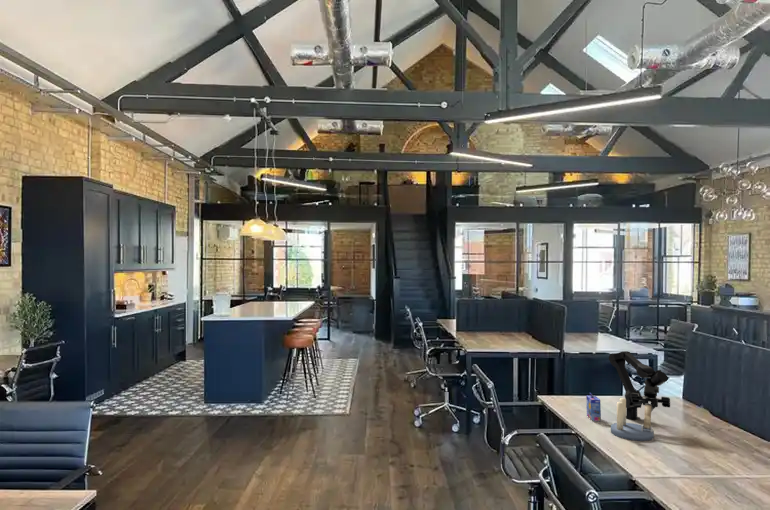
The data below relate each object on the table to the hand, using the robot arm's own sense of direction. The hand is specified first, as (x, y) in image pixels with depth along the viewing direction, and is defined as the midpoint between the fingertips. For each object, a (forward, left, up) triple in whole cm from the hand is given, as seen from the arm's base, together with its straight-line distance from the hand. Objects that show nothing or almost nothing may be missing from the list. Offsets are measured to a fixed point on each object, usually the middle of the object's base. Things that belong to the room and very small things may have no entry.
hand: (649, 413), depth 269 cm
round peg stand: (+11, -4, -10) cm, 15 cm away
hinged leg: (+8, +3, -5) cm, 10 cm away
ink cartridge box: (+1, -31, -10) cm, 32 cm away
